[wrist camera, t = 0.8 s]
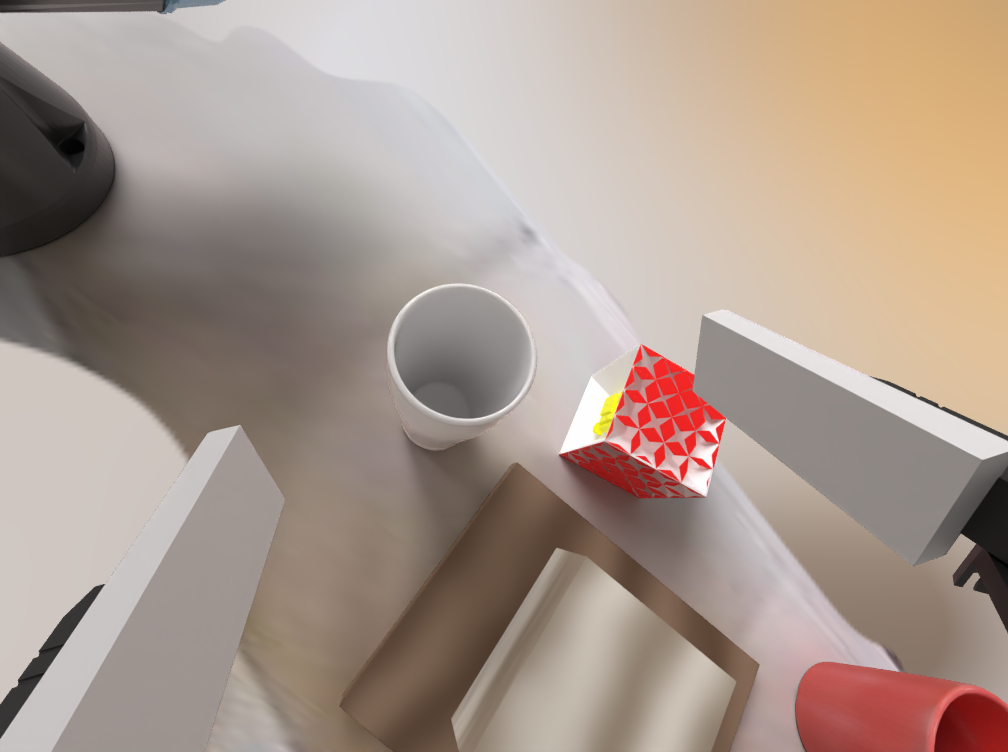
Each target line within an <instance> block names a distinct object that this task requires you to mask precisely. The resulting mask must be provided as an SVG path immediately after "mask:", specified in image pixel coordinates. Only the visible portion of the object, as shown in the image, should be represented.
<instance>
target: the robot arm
mask: <svg viewBox="0 0 1008 752" xmlns="http://www.w3.org/2000/svg"><path fill="white" fill-rule="evenodd" d="M223 1H225V0H0V13H50V12H132V11H157V12H159V13H160V14H167V13H172V12H173V11H175V10H176V8H185V7H197V6H209V5H217V4H219V3H221V2H223ZM113 173H114V160H113V154H112V151H111V148H110V145H109V143H108V141H107V139H106V137H105V136H104V134H103V133H102V131H101V130H100V129H99V128H98V126H97V125H96V124H95V123H94V121H93V120H92V119H91V118H90V116H89V115H88V114H87V113H86V111H85V110H84V109H83V108H82V107H81V105H80V104H79V103H78V102H77V101H76V100H75V99H74V98H73V97H72V96H71V95H70V94H68V93H67V92H66V91H65V90H64V89H62V88H61V87H60V86H59V85H57V84H56V83H55V82H53V81H52V80H51V79H49V78H48V77H46V76H45V75H44V74H42V73H41V72H40V71H38V70H37V69H36V68H34V67H33V66H32V65H30V64H29V63H28V62H26V61H25V60H24V59H22V58H21V57H20V56H18V55H17V54H16V53H14V52H13V51H12V50H10V49H9V48H8V47H6V46H5V45H4V44H2V43H1V42H0V256H3V255H8V254H13V253H17V252H21V251H25V250H28V249H31V248H34V247H37V246H40V245H42V244H45V243H47V242H50V241H52V240H54V239H56V238H58V237H60V236H62V235H64V234H66V233H67V232H69V231H71V230H72V229H74V228H75V227H76V226H78V225H79V224H81V223H82V222H83V221H84V220H86V219H87V218H88V217H89V216H90V215H91V214H92V213H93V212H94V211H95V210H96V209H97V207H98V206H99V205H100V204H101V202H102V201H103V199H104V198H105V196H106V194H107V192H108V190H109V188H110V185H111V182H112V179H113ZM693 392H694V393H695V394H697V395H698V396H699V397H700V398H702V399H703V400H704V401H705V402H707V403H708V404H709V405H710V406H712V407H713V408H714V409H715V410H717V411H718V412H719V413H721V414H722V415H723V416H724V417H726V418H727V419H728V420H729V421H731V422H732V423H733V424H734V425H736V426H737V427H738V428H739V429H741V430H742V431H743V432H745V433H746V434H747V435H748V436H749V437H751V438H752V439H753V440H755V441H756V442H757V443H758V444H760V445H761V446H762V447H763V448H765V449H766V450H767V451H768V452H770V453H771V454H772V455H773V456H775V457H776V458H777V459H778V460H780V461H781V462H782V463H784V464H785V465H786V466H787V467H789V468H790V469H791V470H793V471H794V472H795V473H796V474H797V475H799V476H800V477H801V478H802V479H804V480H805V481H806V482H807V483H809V484H810V485H811V486H813V487H814V488H815V489H816V490H818V491H819V492H820V493H821V494H823V495H824V496H825V497H826V498H828V499H829V500H830V501H831V502H833V503H834V504H835V505H836V506H838V507H839V508H840V509H841V510H843V511H844V512H845V513H847V514H848V515H849V516H850V517H851V518H853V519H854V520H855V521H857V522H858V523H859V524H860V525H862V526H863V527H864V528H865V529H867V530H868V531H869V532H870V533H872V534H873V535H874V536H875V537H877V538H878V539H879V540H881V541H882V542H883V543H884V544H886V545H887V546H888V547H889V548H891V549H892V550H893V551H894V552H896V553H897V554H898V555H899V556H901V557H902V558H903V559H905V560H906V561H907V562H908V563H909V564H911V565H912V566H916V565H919V564H921V563H924V562H927V561H930V560H933V559H935V558H938V557H941V556H944V555H946V554H947V552H948V551H949V549H950V548H951V546H952V545H953V544H954V542H955V541H956V539H957V538H958V536H959V535H960V534H963V535H964V536H966V537H967V538H969V539H970V540H972V541H973V542H975V543H976V545H975V546H974V548H973V549H972V550H971V552H970V553H969V554H968V556H967V557H966V558H965V560H964V561H963V562H962V564H961V565H960V566H959V568H958V569H957V570H956V572H955V573H954V575H953V581H954V585H955V586H959V587H963V585H964V584H965V583H966V582H967V580H968V579H969V578H970V576H971V575H972V574H973V573H978V574H979V576H980V579H979V580H978V581H977V582H976V584H975V586H974V588H973V589H974V590H975V591H978V592H982V593H987V594H989V596H990V598H991V600H992V602H993V604H994V606H995V608H996V610H997V612H998V614H999V616H1000V618H1001V620H1002V622H1003V624H1004V626H1005V628H1006V630H1007V632H1008V436H1007V435H1004V434H1002V433H1000V432H998V431H995V430H993V429H991V428H989V427H987V426H985V425H983V424H980V423H978V422H976V421H974V420H972V419H970V418H967V417H965V416H963V415H961V414H958V413H957V412H954V411H952V410H950V409H948V408H945V407H942V408H940V407H939V406H938V404H937V403H935V402H932V401H930V400H928V399H926V398H924V397H917V396H916V394H915V393H913V392H911V391H909V390H906V389H904V388H902V387H900V386H898V385H895V384H893V383H891V382H888V381H885V380H881V379H877V378H874V377H871V376H867V375H865V374H863V373H861V372H859V371H857V370H854V369H852V368H850V367H848V366H846V365H844V364H842V363H839V362H837V361H835V360H833V359H831V358H829V357H826V356H824V355H822V354H820V353H818V352H816V351H814V350H812V349H809V348H807V347H805V346H803V345H801V344H799V343H796V342H794V341H792V340H790V339H788V338H786V337H784V336H781V335H779V334H777V333H775V332H773V331H771V330H769V329H766V328H764V327H762V326H760V325H758V324H756V323H754V322H751V321H749V320H747V319H745V318H743V317H741V316H738V315H736V314H734V313H732V312H730V311H728V310H726V309H724V310H720V311H716V312H711V313H707V314H703V315H702V321H701V329H700V337H699V344H698V352H697V360H696V368H695V375H694V383H693ZM284 502H285V498H284V496H283V495H282V493H281V491H280V490H279V488H278V486H277V485H276V483H275V482H274V480H273V478H272V477H271V475H270V473H269V472H268V470H267V468H266V467H265V465H264V463H263V462H262V460H261V458H260V457H259V455H258V453H257V452H256V450H255V449H254V447H253V445H252V444H251V442H250V440H249V439H248V437H247V435H246V434H245V432H244V430H243V429H242V427H241V425H237V426H233V427H229V428H225V429H220V430H216V431H212V432H208V433H207V435H206V436H205V438H204V439H203V441H202V442H201V444H200V445H199V447H198V448H197V450H196V451H195V453H194V454H193V456H192V457H191V458H190V460H189V461H188V463H187V464H186V466H185V467H184V469H183V470H182V472H181V473H180V475H179V476H178V478H177V479H176V481H175V482H174V484H173V485H172V487H171V488H170V489H169V491H168V493H167V494H166V495H165V497H164V498H163V500H162V501H161V503H160V504H159V506H158V507H157V509H156V510H155V512H154V513H153V515H152V516H151V518H150V519H149V521H148V522H147V524H146V525H145V526H144V528H143V529H142V531H141V532H140V534H139V535H138V537H137V538H136V540H135V541H134V543H133V544H132V546H131V547H130V549H129V550H128V551H127V553H126V554H125V556H124V557H123V559H122V560H121V562H120V564H119V565H118V566H117V568H116V569H115V571H114V572H113V574H112V575H111V577H110V578H109V580H108V581H107V583H106V584H103V585H100V586H96V587H94V588H93V589H92V590H91V591H90V592H89V593H88V594H87V595H86V596H85V597H84V598H83V599H82V600H81V601H80V602H79V603H78V604H77V605H76V606H75V607H74V608H72V609H71V610H70V611H69V612H68V613H67V614H66V615H65V616H64V617H63V618H62V620H61V621H60V622H59V624H58V625H57V627H56V628H55V629H54V631H53V632H52V634H51V635H50V636H49V638H48V639H47V641H46V642H45V643H44V645H43V646H42V648H41V649H40V650H39V656H38V657H37V658H34V659H33V660H32V662H31V663H30V664H29V665H28V667H27V668H26V670H25V671H24V672H23V674H22V675H21V677H20V678H19V679H18V683H19V684H18V686H17V687H15V688H12V689H11V691H10V692H9V693H8V695H7V696H6V698H5V699H4V700H3V702H2V703H1V704H0V752H205V749H206V746H207V743H208V739H209V736H210V733H211V730H212V727H213V724H214V721H215V718H216V714H217V711H218V708H219V705H220V702H221V699H222V696H223V693H224V689H225V686H226V683H227V680H228V677H229V674H230V671H231V668H232V665H233V661H234V658H235V655H236V652H237V649H238V646H239V643H240V640H241V636H242V633H243V630H244V627H245V624H246V621H247V618H248V615H249V612H250V608H251V605H252V602H253V599H254V596H255V593H256V590H257V587H258V583H259V580H260V577H261V574H262V571H263V568H264V565H265V562H266V559H267V555H268V552H269V549H270V546H271V543H272V540H273V537H274V534H275V530H276V527H277V524H278V521H279V518H280V515H281V512H282V509H283V505H284Z"/></svg>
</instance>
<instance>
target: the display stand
mask: <svg viewBox="0 0 1008 752" xmlns="http://www.w3.org/2000/svg"><path fill="white" fill-rule="evenodd" d="M758 668H759V664H758V663H757V662H756V661H755V660H753V659H752V658H751V657H750V656H749V655H747V654H746V653H745V652H744V651H743V650H741V649H740V648H739V647H738V646H737V645H735V644H734V643H733V642H732V641H731V640H729V639H728V638H727V637H726V636H725V635H723V634H722V633H721V632H720V631H719V630H717V629H716V628H715V627H714V626H713V625H711V624H710V623H709V622H708V621H707V620H705V619H704V618H703V617H702V616H701V615H699V614H698V613H697V612H696V611H695V610H693V609H692V608H691V607H690V606H689V605H687V604H686V603H685V602H684V601H683V600H681V599H680V598H679V597H678V596H677V595H675V594H674V593H673V592H672V591H671V590H670V589H668V588H667V587H666V586H665V585H664V584H662V583H661V582H660V581H659V580H658V579H656V578H655V577H654V576H653V575H652V574H650V573H649V572H648V571H647V570H646V569H644V568H643V567H642V566H641V565H640V564H638V563H637V562H636V561H635V560H634V559H632V558H631V557H630V556H629V555H628V554H626V553H625V552H624V551H623V550H622V549H620V548H619V547H618V546H617V545H616V544H614V543H613V542H612V541H611V540H610V539H608V538H607V537H606V536H605V535H604V534H602V533H601V532H600V531H599V530H598V529H596V528H595V527H594V526H593V525H592V524H590V523H589V522H588V521H587V520H586V519H584V518H583V517H582V516H581V515H580V514H578V513H577V512H576V511H575V510H574V509H572V508H571V507H570V506H569V505H568V504H566V503H565V502H564V501H563V500H562V499H560V498H559V497H558V496H557V495H556V494H554V493H553V492H552V491H551V490H550V489H548V488H547V487H546V486H545V485H544V484H542V483H541V482H540V481H539V480H538V479H536V478H535V477H534V476H533V475H532V474H530V473H529V472H528V471H527V470H526V469H524V468H523V467H522V466H521V465H520V464H518V463H514V464H512V465H511V466H510V468H509V469H508V470H507V472H506V473H505V475H504V476H503V477H502V479H501V480H500V481H499V483H498V484H497V485H496V487H495V488H494V490H493V491H492V492H491V494H490V495H489V496H488V498H487V499H486V500H485V502H484V503H483V505H482V506H481V507H480V509H479V510H478V511H477V513H476V514H475V515H474V517H473V518H472V520H471V521H470V522H469V524H468V525H467V526H466V528H465V529H464V530H463V532H462V533H461V534H460V536H459V537H458V539H457V540H456V541H455V543H454V544H453V545H452V547H451V548H450V549H449V551H448V552H447V554H446V555H445V556H444V558H443V559H442V560H441V562H440V563H439V564H438V566H437V567H436V569H435V570H434V571H433V573H432V574H431V575H430V577H429V578H428V579H427V581H426V582H425V584H424V585H423V586H422V588H421V589H420V590H419V592H418V593H417V594H416V596H415V597H414V599H413V600H412V601H411V603H410V604H409V605H408V607H407V608H406V609H405V611H404V612H403V613H402V615H401V616H400V618H399V619H398V620H397V622H396V623H395V624H394V626H393V627H392V628H391V630H390V631H389V633H388V634H387V635H386V637H385V638H384V639H383V641H382V642H381V643H380V645H379V646H378V648H377V649H376V650H375V652H374V653H373V654H372V656H371V657H370V658H369V660H368V661H367V663H366V664H365V665H364V667H363V668H362V669H361V671H360V672H359V673H358V675H357V676H356V678H355V679H354V680H353V682H352V683H351V684H350V686H349V687H348V688H347V690H346V691H345V692H344V694H343V696H342V699H341V703H340V706H339V707H341V708H342V709H343V710H344V711H345V712H347V713H348V714H349V715H350V716H351V717H353V718H354V719H355V720H356V721H357V722H359V723H360V724H361V725H362V726H363V727H365V728H366V729H367V730H368V731H369V732H371V733H372V734H373V735H374V736H375V737H377V738H378V739H379V740H380V741H381V742H383V743H384V744H385V745H386V746H387V747H389V748H390V749H391V750H392V751H393V752H729V751H730V748H731V745H732V743H733V740H734V737H735V734H736V731H737V728H738V725H739V723H740V720H741V717H742V714H743V711H744V708H745V705H746V702H747V700H748V697H749V694H750V691H751V688H752V685H753V682H754V680H755V677H756V674H757V671H758Z"/></svg>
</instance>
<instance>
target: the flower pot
mask: <svg viewBox="0 0 1008 752" xmlns="http://www.w3.org/2000/svg"><path fill="white" fill-rule="evenodd" d="M796 720H797V726H798V730H799V734H800V737H801V740H802V742H803V745H804V747H805V749H806V751H807V752H1008V705H1007V704H1006V703H1005V702H1004V701H1002V700H1001V699H1000V698H998V697H997V696H995V695H994V694H992V693H990V692H989V691H987V690H985V689H983V688H980V687H977V686H974V685H970V684H965V683H960V682H955V681H949V680H944V679H938V678H932V677H926V676H921V675H914V674H908V673H902V672H896V671H890V670H883V669H876V668H869V667H862V666H855V665H848V664H841V663H834V662H822V663H818V664H815V665H814V666H812V667H811V668H810V669H808V671H807V672H806V673H805V674H804V676H803V678H802V680H801V682H800V684H799V688H798V698H797V700H796Z"/></svg>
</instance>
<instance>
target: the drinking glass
mask: <svg viewBox="0 0 1008 752" xmlns="http://www.w3.org/2000/svg"><path fill="white" fill-rule="evenodd" d="M536 367H537V351H536V345H535V341H534V337H533V334H532V332H531V330H530V328H529V326H528V324H527V322H526V321H525V319H524V318H523V316H522V315H521V314H520V312H519V311H518V310H517V309H516V308H515V307H514V306H513V305H512V304H511V303H510V302H508V301H507V300H506V299H504V298H503V297H501V296H500V295H498V294H496V293H494V292H492V291H490V290H488V289H485V288H482V287H479V286H475V285H469V284H446V285H441V286H437V287H434V288H431V289H428V290H426V291H424V292H422V293H420V294H419V295H417V296H416V297H414V298H413V299H412V300H410V301H409V302H408V303H407V304H406V305H405V306H404V307H403V308H402V310H401V311H400V312H399V314H398V315H397V317H396V318H395V320H394V322H393V324H392V327H391V330H390V333H389V337H388V343H387V359H386V370H387V381H388V386H389V391H390V394H391V398H392V401H393V403H394V405H395V408H396V410H397V412H398V414H399V416H400V418H401V422H402V426H403V429H404V431H405V433H406V435H407V436H408V437H409V439H410V440H411V441H412V442H414V443H415V444H416V445H418V446H420V447H422V448H424V449H428V450H435V451H437V450H445V449H448V448H451V447H453V446H454V445H456V444H457V443H460V442H463V441H466V440H469V439H472V438H475V437H477V436H479V435H481V434H483V433H485V432H487V431H489V430H490V429H492V428H493V427H495V426H496V425H497V424H499V423H500V422H501V421H503V420H504V419H505V418H506V417H507V416H508V415H509V414H510V413H511V412H512V411H513V410H514V409H515V408H516V407H517V406H518V405H519V404H520V403H521V401H522V400H523V399H524V398H525V396H526V395H527V393H528V391H529V390H530V388H531V385H532V383H533V380H534V377H535V373H536Z"/></svg>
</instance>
